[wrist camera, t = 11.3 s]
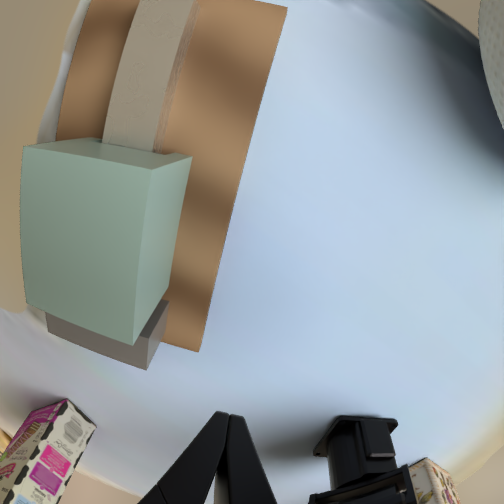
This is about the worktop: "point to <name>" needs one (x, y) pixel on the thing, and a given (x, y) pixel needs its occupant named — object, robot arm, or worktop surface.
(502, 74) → the cereal bowl
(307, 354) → the worktop surface
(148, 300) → the block
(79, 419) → the candy bar box
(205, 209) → the mounting board
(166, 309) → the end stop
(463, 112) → the worktop surface
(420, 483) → the decorative jar
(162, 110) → the metal rail
